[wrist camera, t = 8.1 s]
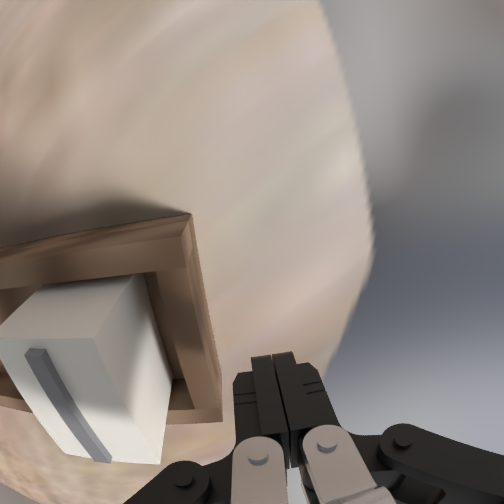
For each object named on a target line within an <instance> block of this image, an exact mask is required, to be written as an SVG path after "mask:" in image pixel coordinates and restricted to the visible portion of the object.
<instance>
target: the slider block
mask: <svg viewBox="0 0 504 504" xmlns="http://www.w3.org/2000/svg"><path fill="white" fill-rule="evenodd" d="M0 360H1V361H2V363H3V365H4V367H5V369H6V370H7V372H8V374H9V376H10V377H11V379H12V381H13V382H14V384H15V386H16V387H17V389H18V391H19V392H20V394H21V395H22V397H23V398H24V400H25V401H26V403H27V404H28V406H29V407H30V409H31V410H32V412H33V413H34V415H35V416H36V417H37V419H38V420H39V421H40V423H41V424H42V426H43V427H44V428H45V429H46V431H47V432H48V433H49V435H50V436H51V437H52V438H53V440H54V441H55V442H56V443H57V445H58V446H59V447H60V448H61V449H62V451H63V452H64V453H66V454H71V455H76V456H82V457H88V458H93V460H94V461H96V462H103V463H111V461H119V462H129V463H143V464H160V460H161V452H162V445H163V438H164V431H165V424H166V418H167V411H168V405H169V399H170V393H171V387H172V381H173V374H172V371H171V368H170V365H169V362H168V359H167V356H166V353H165V350H164V347H163V343H162V340H161V337H160V334H159V330H158V327H157V323H156V320H155V316H154V313H153V309H152V305H151V302H150V298H149V294H148V290H147V286H146V282H145V278H144V274H143V273H137V274H129V275H121V276H112V277H104V278H95V279H86V280H78V281H69V282H60V283H52V284H44V285H43V286H42V287H40V288H39V289H38V290H37V291H36V292H35V293H34V294H33V295H32V296H30V297H29V298H28V299H27V300H26V301H25V302H24V303H23V304H22V305H21V306H20V307H19V308H18V309H17V310H16V311H15V312H14V313H12V314H11V315H10V316H9V317H8V318H7V319H6V320H5V321H4V322H3V323H2V324H1V325H0Z"/></svg>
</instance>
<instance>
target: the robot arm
mask: <svg viewBox="0 0 504 504" xmlns="http://www.w3.org/2000/svg"><path fill="white" fill-rule="evenodd" d="M251 363H252V370H253V371H250V372H242V373H238V374H237V376H236V378H235V380H234V382H233V396H234V397H233V398H234V415H235V430H236V444H235V447H234V449H233V450H232V452H231V453H230V454H229V455H228V456H226V457H225V458H223V459H222V460H219V461H217V462H214V463H211V464H208V465H205V466H201V465H200V464H198V463H195V462H192V461H178V462H175V463H172V464H170V465H168V466H167V467H166V468H165V469H164V470H162V471H161V472H160V473H159V474H158V475H157V476H156V477H154V478H153V479H152V480H151V481H150V482H149V483H147V484H146V485H145V486H144V487H143V488H142V489H140V490H139V491H138V492H137V493H136V494H134V495H133V496H132V497H131V498H129V499H128V500H127V501H126V502H124V503H123V504H288V495H287V469H289V459H290V463H291V468H294V467H299V470H300V474H301V486H302V489H303V492H304V495H305V498H306V501H307V504H504V455H500V454H496V453H493V452H489V451H486V450H482V449H479V448H476V447H473V446H470V445H467V444H463V443H461V442H457V441H455V440H451V439H449V438H446V437H443V436H440V435H438V434H435V433H432V432H429V431H426V430H424V429H421V428H418V427H416V426H414V425H411V424H403V423H402V424H396V425H393V426H391V427H389V428H387V429H386V430H385V431H384V433H383V434H382V435H367V436H366V435H365V436H364V435H363V436H362V435H355V434H352V433H350V432H348V431H346V430H345V429H343V428H342V427H341V425H340V424H339V422H338V420H337V417H336V415H335V412H334V410H333V407H332V405H331V403H330V400H329V397H328V395H327V392H326V391H325V387H324V385H323V383H322V380H321V378H320V375H319V373H318V370H317V369H315V368H314V367H313V366H312V365H311V364H310V363H302V364H296V361H295V358H294V355H293V352H292V351H291V352H285V353H278V354H272V358H271V355H265V356H258V357H251Z"/></svg>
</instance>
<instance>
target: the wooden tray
mask: <svg viewBox="0 0 504 504" xmlns="http://www.w3.org/2000/svg"><path fill="white" fill-rule="evenodd" d="M137 273H143V274H144V278H145V282H146V286H147V290H148V294H149V298H150V302H151V305H152V309H153V313H154V316H155V320H156V323H157V327H158V330H159V334H160V337H161V340H162V343H163V347H164V350H165V353H166V356H167V359H168V362H169V365H170V368H171V371H172V374H173V381H172V387H171V393H170V399H169V405H168V411H167V418H166V424H196V423H212V422H223V417H222V374H221V369H220V365H219V360H218V355H217V351H216V346H215V341H214V336H213V331H212V326H211V321H210V316H209V311H208V306H207V301H206V295H205V290H204V284H203V279H202V273H201V267H200V262H199V256H198V250H197V244H196V237H195V231H194V224H193V218H192V214H188V215H181V216H174V217H167V218H161V219H154V220H148V221H141V222H135V223H129V224H123V225H117V226H111V227H105V228H99V229H94V230H88V231H83V232H77V233H72V234H67V235H62V236H57V237H51V238H47V239H42V240H37V241H32V242H27V243H23V244H18V245H13V246H9V247H4V248H0V325H1V324H2V323H3V322H4V321H5V320H6V319H7V318H8V317H9V316H10V315H11V314H12V313H14V312H15V311H16V310H17V309H18V308H19V307H20V306H21V305H22V304H23V303H24V302H25V301H26V300H27V299H28V298H29V297H30V296H32V295H33V294H34V293H35V292H36V291H37V290H38V289H39V288H40V287H42V286H43V285H44V284H52V283H60V282H69V281H78V280H86V279H95V278H104V277H112V276H121V275H129V274H137ZM0 406H3V407H7V408H12V409H16V410H21V411H25V412H30V413H33V412H32V410H31V409H30V407H29V406H28V404H27V403H26V401H25V400H24V398H23V397H22V395H21V394H20V392H19V391H18V389H17V387H16V386H15V384H14V382H13V381H12V379H11V377H10V376H9V374H8V372H7V370H6V369H5V367H4V365H3V363H2V361H1V360H0Z"/></svg>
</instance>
